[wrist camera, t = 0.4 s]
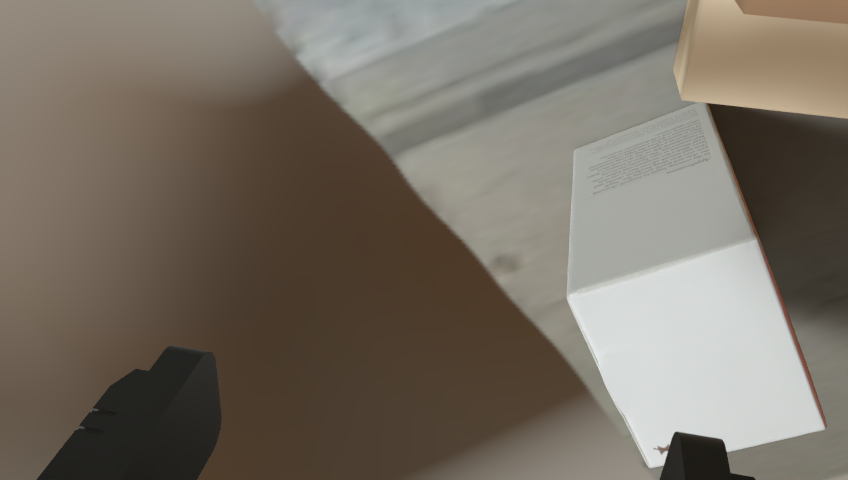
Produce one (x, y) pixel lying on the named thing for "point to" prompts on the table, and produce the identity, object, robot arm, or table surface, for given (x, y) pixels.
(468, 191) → the table surface
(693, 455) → the robot arm
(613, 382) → the small box
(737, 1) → the walnut tile
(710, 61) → the birch deck
